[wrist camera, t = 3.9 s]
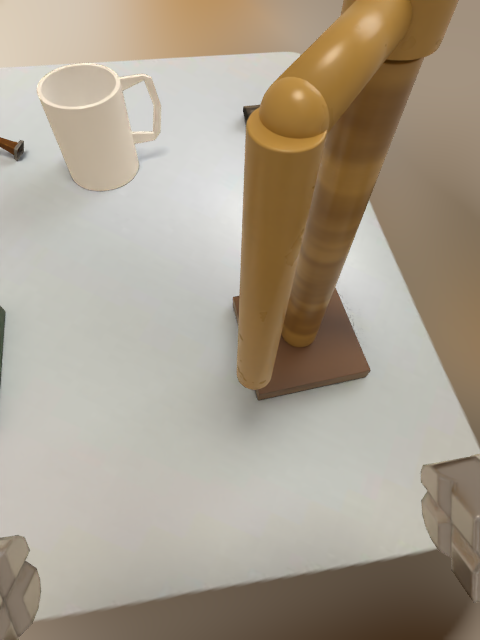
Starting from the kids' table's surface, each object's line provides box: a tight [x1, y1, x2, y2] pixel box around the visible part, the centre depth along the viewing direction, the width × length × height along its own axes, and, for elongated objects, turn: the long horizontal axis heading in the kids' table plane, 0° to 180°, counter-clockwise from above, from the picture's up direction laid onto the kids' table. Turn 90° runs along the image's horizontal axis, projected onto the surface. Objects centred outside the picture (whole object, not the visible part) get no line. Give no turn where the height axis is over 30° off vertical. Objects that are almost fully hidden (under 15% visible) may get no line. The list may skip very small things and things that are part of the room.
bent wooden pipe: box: [237, 0, 459, 390], centre depth 20 cm, size 12×4×18 cm, turn 149°
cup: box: [37, 63, 161, 191], centre depth 46 cm, size 8×12×10 cm
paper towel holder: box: [233, 57, 424, 400], centre depth 27 cm, size 10×10×26 cm
